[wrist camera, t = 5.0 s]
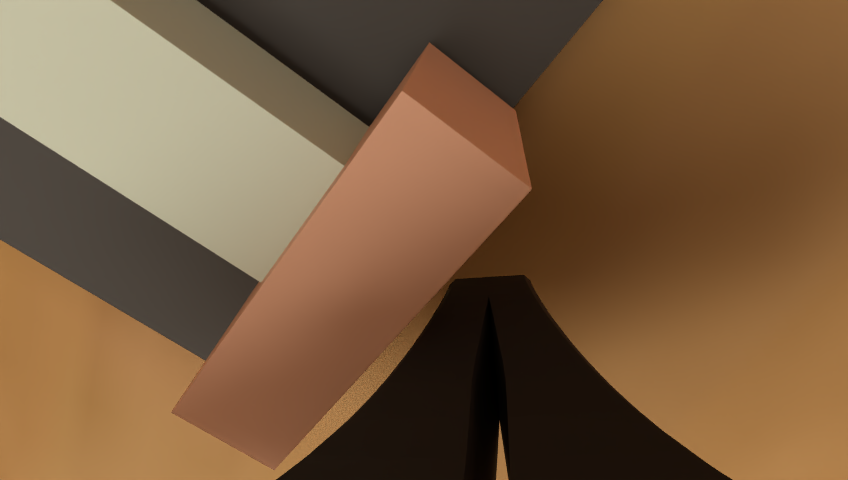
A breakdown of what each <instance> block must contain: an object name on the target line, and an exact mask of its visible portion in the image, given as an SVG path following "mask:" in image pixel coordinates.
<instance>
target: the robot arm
mask: <svg viewBox="0 0 848 480" xmlns="http://www.w3.org/2000/svg"><path fill="white" fill-rule="evenodd" d="M499 420H500V426H501V433H502V439H503V446H504V453H505V459H506V466H507V472H508V479H509V480H732V479H730V478H729V477H727V476H726V475H724V474H722V473H721V472H719V471H718V470H716V469H715V468H713V467H712V466H711V465H709V464H708V463H706V462H705V461H703V460H702V459H701V458H699V457H698V456H696V455H695V454H694V453H692V452H691V451H690V450H688V449H687V448H686V447H684V446H683V445H681V444H680V443H679V442H677V441H676V440H675V439H673V438H672V437H671V436H669V435H668V434H666V433H665V432H664V431H662V430H661V429H660V428H659V427H657V426H656V425H655V424H654V423H653V422H651V421H650V420H649V419H648V418H647V417H645V416H644V415H643V414H642V413H641V412H639V411H638V410H637V409H636V408H635V407H634V406H633V405H632V404H631V403H629V402H628V401H627V400H626V399H625V398H624V397H623V396H622V395H621V394H619V393H618V392H617V391H616V390H615V389H614V388H613V387H612V386H611V385H610V384H609V383H608V382H607V381H606V380H605V379H604V378H603V377H602V376H601V375H600V374H599V373H598V372H597V371H596V370H595V368H594V367H593V366H592V365H591V364H590V363H589V362H588V361H587V360H586V359H585V358H584V357H583V355H582V354H581V353H580V352H579V351H578V350H577V348H576V347H575V346H574V345H573V344H572V342H571V341H570V340H569V339H568V337H567V336H566V335H565V334H564V332H563V331H562V330H561V329H560V327H559V326H558V325H557V323H556V322H555V321H554V319H553V318H552V317H551V315H550V314H549V312H548V311H547V309H546V308H545V306H544V305H543V303H542V302H541V300H540V299H539V297H538V295H537V294H536V292H535V290H534V288H533V286H532V284H531V281H530V280H529V279H528V278H527V277H525V276H524V275H515V276H499V277H483V278H467V279H455V280H454V281H453V282H452V283H451V285H450V286H449V288H448V290H447V292H446V294H445V296H444V298H443V300H442V301H441V303H440V305H439V307H438V308H437V310H436V311H435V313H434V315H433V316H432V318H431V320H430V321H429V323H428V324H427V326H426V327H425V329H424V330H423V332H422V333H421V334H420V336H419V337H418V339H417V340H416V342H415V343H414V345H413V346H412V347H411V349H410V350H409V351H408V353H407V354H406V355H405V357H404V358H403V359H402V360H401V362H400V363H399V364H398V365H397V367H396V368H395V369H394V371H393V372H392V373H391V374H390V376H389V377H388V378H387V379H386V380H385V382H384V383H383V384H382V385H381V386H380V387H379V388H378V390H377V391H376V392H375V393H374V394H373V395H372V396H371V397H370V398H369V399H368V400H367V401H366V403H365V404H364V405H363V406H362V407H361V408H360V409H359V410H358V411H357V412H356V413H355V414H354V415H353V416H352V417H351V418H350V419H349V420H348V421H347V422H345V423H344V424H343V425H342V426H341V427H340V428H339V429H338V430H337V431H336V432H334V433H333V434H332V435H331V436H330V437H329V438H327V439H326V440H325V441H324V442H323V443H322V444H321V445H319V446H318V447H317V448H316V449H315V450H314V451H312V452H311V453H310V454H309V455H308V456H307V457H305V458H304V459H303V460H302V461H300V462H299V463H298V464H296V465H295V466H294V467H292V468H291V469H290V470H288V471H287V472H286V473H284V474H283V475H282V476H280V477H279V478H278V479H276V480H496V470H497V454H498V437H499Z"/></svg>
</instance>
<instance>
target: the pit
mask: <svg viewBox="0 0 848 480" xmlns="http://www.w3.org/2000/svg"><path fill="white" fill-rule="evenodd" d="M197 1H198V2H199V3H201V4H202V5H204V6H205V7H206V8H208V9H209V10H210V11H212V12H213V13H214V14H216V15H217V16H219V17H220V18H221V19H223V20H224V21H225V22H227V23H228V24H229V25H231V26H232V27H234V28H235V29H236V30H238V31H239V32H240V33H242V34H243V35H244V36H246V37H247V38H249V39H250V40H251V41H253V42H254V43H255V44H257V45H258V46H259V47H261V48H262V49H264V50H265V51H266V52H268V53H269V54H270V55H272V56H273V57H274V58H276V59H277V60H279V61H280V62H281V63H283V64H284V65H285V66H287V67H288V68H289V69H291V70H292V71H294V72H295V73H296V74H298V75H299V76H300V77H302V78H303V79H304V80H306V81H307V82H309V83H310V84H311V85H313V86H314V87H315V88H317V89H318V90H319V91H321V92H322V93H324V94H325V95H326V96H328V97H329V98H330V99H332V100H333V101H334V102H336V103H337V104H339V105H340V106H341V107H343V108H344V109H345V110H347V111H348V112H349V113H351V114H352V115H354V116H355V117H356V118H358V119H359V120H360V121H362V122H363V123H364V124H366V125H367V126H369V127H370V125H371V124H372V122H373V121H374V119H375V118H376V117H377V115H378V114H379V112H380V111H381V110H382V108H383V107H384V105H385V104H386V103H387V101H388V100H389V98H390V97H391V96H392V94H393V93H394V91H395V90H396V89H397V87H398V86H399V84H400V83H401V82H402V80H403V79H404V77H405V76H406V75H407V73H408V72H409V70H410V69H411V68H412V66H413V65H414V63H415V62H416V60H417V59H418V58H419V56H420V55H421V53H422V52H423V51H424V49H425V48H426V46H427V45H428V44H429V42H430V43H431V44H432V45H433V46H435V47H436V48H437V49H438V50H440V51H441V52H442V53H443V54H445V55H446V56H447V57H449V58H450V59H451V60H452V61H454V62H455V63H456V64H457V65H459V66H460V67H461V68H462V69H464V70H465V71H466V72H467V73H469V74H470V75H471V76H473V77H474V78H475V79H476V80H478V81H479V82H480V83H481V84H483V85H484V86H485V87H486V88H488V89H489V90H490V91H492V92H493V93H494V94H495V95H497V96H498V97H499V98H500V99H502V100H503V101H504V102H505V103H507V104H508V105H509V106H510V107H512V108H514V107H515V105H516V104H517V103H518V102H519V100H520V99H521V98H522V97H523V96H524V94H525V93H526V92H527V91H528V90H529V88H530V87H531V86H532V85H533V84H534V82H535V81H536V80H537V79H538V78H539V76H540V75H541V74H542V73H543V72H544V70H545V69H546V68H547V67H548V66H549V64H550V63H551V62H552V61H553V60H554V58H555V57H556V56H557V55H558V54H559V52H560V51H561V50H562V49H563V48H564V46H565V45H566V44H567V43H568V42H569V40H570V39H571V38H572V37H573V36H574V34H575V33H576V32H577V31H578V30H579V28H580V27H581V26H582V25H583V24H584V22H585V21H586V20H587V19H588V18H589V16H590V15H591V14H592V13H593V12H594V10H595V9H596V8H597V7H598V6H599V4H600V3H601V2H602V1H603V0H197ZM0 240H2V241H4V242H5V243H7V244H9V245H10V246H12V247H14V248H16V249H17V250H19V251H21V252H22V253H24V254H26V255H27V256H29V257H31V258H32V259H34V260H36V261H38V262H39V263H41V264H43V265H44V266H46V267H48V268H49V269H51V270H53V271H55V272H56V273H58V274H60V275H61V276H63V277H65V278H66V279H68V280H70V281H71V282H73V283H75V284H77V285H78V286H80V287H82V288H83V289H85V290H87V291H88V292H90V293H92V294H94V295H95V296H97V297H99V298H100V299H102V300H104V301H105V302H107V303H109V304H111V305H112V306H114V307H116V308H117V309H119V310H121V311H122V312H124V313H126V314H127V315H129V316H131V317H133V318H134V319H136V320H138V321H139V322H141V323H143V324H144V325H146V326H148V327H150V328H151V329H153V330H155V331H156V332H158V333H160V334H161V335H163V336H165V337H166V338H168V339H170V340H172V341H173V342H175V343H177V344H178V345H180V346H182V347H183V348H185V349H187V350H189V351H190V352H192V353H194V354H195V355H197V356H199V357H200V358H202V359H204V360H207V358H208V357H209V355H210V354H211V352H212V351H213V349H214V348H215V346H216V345H217V343H218V342H219V340H220V339H221V337H222V336H223V334H224V333H225V331H226V330H227V328H228V327H229V325H230V324H231V322H232V321H233V319H234V318H235V316H236V315H237V313H238V312H239V310H240V309H241V307H242V306H243V304H244V303H245V301H246V300H247V298H248V297H249V295H250V294H251V293H252V291H253V290H254V288H255V287H256V285H257V284H258V282H259V281H258V280H256V279H254V278H253V277H251V276H250V275H248V274H247V273H245V272H243V271H242V270H240V269H239V268H237V267H236V266H234V265H232V264H231V263H229V262H228V261H226V260H225V259H223V258H221V257H220V256H218V255H217V254H215V253H214V252H212V251H210V250H209V249H207V248H206V247H204V246H203V245H201V244H199V243H198V242H196V241H195V240H193V239H192V238H190V237H188V236H187V235H185V234H184V233H182V232H181V231H179V230H177V229H176V228H174V227H173V226H171V225H170V224H168V223H166V222H165V221H163V220H162V219H160V218H158V217H157V216H155V215H154V214H152V213H151V212H149V211H147V210H146V209H144V208H143V207H141V206H140V205H138V204H136V203H135V202H133V201H132V200H130V199H129V198H127V197H125V196H124V195H122V194H121V193H119V192H118V191H116V190H114V189H113V188H111V187H110V186H108V185H107V184H105V183H103V182H102V181H100V180H99V179H97V178H96V177H94V176H92V175H91V174H89V173H88V172H86V171H85V170H83V169H81V168H80V167H78V166H77V165H75V164H74V163H72V162H70V161H69V160H67V159H66V158H64V157H63V156H61V155H59V154H58V153H56V152H55V151H53V150H51V149H50V148H48V147H47V146H45V145H44V144H42V143H40V142H39V141H37V140H36V139H34V138H33V137H31V136H29V135H28V134H26V133H25V132H23V131H22V130H20V129H18V128H17V127H15V126H14V125H12V124H11V123H9V122H7V121H6V120H4V119H3V118H1V117H0Z"/></svg>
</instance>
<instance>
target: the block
mask: <svg viewBox="0 0 848 480" xmlns="http://www.w3.org/2000/svg"><path fill="white" fill-rule="evenodd" d="M0 117H1V118H3V119H4V120H6V121H7V122H9V123H11V124H12V125H14V126H15V127H17V128H18V129H20V130H22V131H23V132H25V133H26V134H28V135H29V136H31V137H33V138H34V139H36V140H37V141H39V142H40V143H42V144H44V145H45V146H47V147H48V148H50V149H51V150H53V151H55V152H56V153H58V154H59V155H61V156H63V157H64V158H66V159H67V160H69V161H70V162H72V163H74V164H75V165H77V166H78V167H80V168H81V169H83V170H85V171H86V172H88V173H89V174H91V175H92V176H94V177H96V178H97V179H99V180H100V181H102V182H103V183H105V184H107V185H108V186H110V187H111V188H113V189H114V190H116V191H118V192H119V193H121V194H122V195H124V196H125V197H127V198H129V199H130V200H132V201H133V202H135V203H136V204H138V205H140V206H141V207H143V208H144V209H146V210H147V211H149V212H151V213H152V214H154V215H155V216H157V217H158V218H160V219H162V220H163V221H165V222H166V223H168V224H170V225H171V226H173V227H174V228H176V229H177V230H179V231H181V232H182V233H184V234H185V235H187V236H188V237H190V238H192V239H193V240H195V241H196V242H198V243H199V244H201V245H203V246H204V247H206V248H207V249H209V250H210V251H212V252H214V253H215V254H217V255H218V256H220V257H221V258H223V259H225V260H226V261H228V262H229V263H231V264H232V265H234V266H236V267H237V268H239V269H240V270H242V271H243V272H245V273H247V274H248V275H250V276H251V277H253V278H254V279H256V280H258V281H259V282H258V284H257V285H256V287H255V288H254V290H253V291H252V293H251V294H250V295H249V297H248V298H247V300H246V301H245V303H244V304H243V306H242V307H241V309H240V310H239V312H238V313H237V315H236V316H235V318H234V319H233V321H232V322H231V324H230V325H229V327H228V328H227V330H226V331H225V333H224V334H223V336H222V337H221V339H220V340H219V342H218V343H217V345H216V346H215V348H214V349H213V351H212V352H211V354H210V355H209V357H208V358H207V360H206V361H205V363H204V364H203V366H202V367H201V369H200V370H199V371H198V373H197V374H196V376H195V377H194V379H193V380H192V382H191V383H190V385H189V386H188V388H187V389H186V391H185V392H184V394H183V395H182V397H181V398H180V400H179V401H178V403H177V404H176V406H175V407H174V409H173V410H172V412H171V413H173V414H175V415H177V416H179V417H180V418H182V419H184V420H186V421H187V422H189V423H191V424H193V425H195V426H196V427H198V428H200V429H202V430H204V431H205V432H207V433H209V434H211V435H212V436H214V437H216V438H218V439H220V440H221V441H223V442H225V443H227V444H228V445H230V446H232V447H234V448H236V449H237V450H239V451H241V452H243V453H245V454H246V455H248V456H250V457H252V458H253V459H255V460H257V461H259V462H261V463H262V464H264V465H266V466H268V467H270V468H271V469H273V470H275V469H276V468H277V467H278V465H279V464H280V463H281V462H282V461H283V460H284V459H285V458H286V457H287V456H288V455H289V453H290V452H291V451H292V450H293V449H294V448H295V447H296V446H297V445H298V444H299V443H300V441H301V440H302V439H303V438H304V437H305V436H306V435H307V434H308V433H309V432H310V431H311V429H312V428H313V427H314V426H315V425H316V424H317V423H318V422H319V421H320V420H321V419H322V417H323V416H324V415H325V414H326V413H327V412H328V411H329V410H330V409H331V408H332V407H333V405H334V404H335V403H336V402H337V401H338V400H339V399H340V398H341V397H342V396H343V395H344V393H345V392H346V391H347V390H348V389H349V388H350V387H351V386H352V385H353V384H354V383H355V381H356V380H357V379H358V378H359V377H360V376H361V375H362V374H363V373H364V372H365V371H366V369H367V368H368V367H369V366H370V365H371V364H372V363H373V362H374V361H375V360H376V359H377V357H378V356H379V355H380V354H381V353H382V352H383V351H384V350H385V349H386V348H387V347H388V345H389V344H390V343H391V342H392V341H393V340H394V339H395V338H396V337H397V336H398V335H399V333H400V332H401V331H402V330H403V329H404V328H405V327H406V326H407V325H408V324H409V323H410V321H411V320H412V319H413V318H414V317H415V316H416V315H417V314H418V313H419V312H420V311H421V309H422V308H423V307H424V306H425V305H426V304H427V303H428V302H429V301H430V300H431V299H432V297H433V296H434V295H435V294H436V293H437V292H438V291H439V290H440V289H441V288H442V287H443V285H444V284H445V283H446V282H447V281H448V280H449V279H450V278H451V277H452V276H453V275H454V273H455V272H456V271H457V270H458V269H459V268H460V267H461V266H462V265H463V264H464V263H465V261H466V260H467V259H468V258H469V257H470V256H471V255H472V254H473V253H474V252H475V251H476V249H477V248H478V247H479V246H480V245H481V244H482V243H483V242H484V241H485V240H486V239H487V237H488V236H489V235H490V234H491V233H492V232H493V231H494V230H495V229H496V228H497V227H498V225H499V224H500V223H501V222H502V221H503V220H504V219H505V218H506V217H507V216H508V215H509V213H510V212H511V211H512V210H513V209H514V208H515V207H516V206H517V205H518V204H519V203H520V201H521V200H522V199H523V198H524V197H525V196H526V195H527V194H528V193H529V192H530V191H531V190H532V187H531V182H530V178H529V173H528V168H527V163H526V158H525V153H524V148H523V143H522V139H521V134H520V129H519V124H518V119H517V114H516V110H514V109H513V108H512V107H510V106H509V105H508V104H507V103H505V102H504V101H503V100H502V99H500V98H499V97H498V96H497V95H495V94H494V93H493V92H492V91H490V90H489V89H488V88H486V87H485V86H484V85H483V84H481V83H480V82H479V81H478V80H476V79H475V78H474V77H473V76H471V75H470V74H469V73H467V72H466V71H465V70H464V69H462V68H461V67H460V66H459V65H457V64H456V63H455V62H454V61H452V60H451V59H450V58H449V57H447V56H446V55H445V54H443V53H442V52H441V51H440V50H438V49H437V48H436V47H435V46H433V45H432V44H431V43H430V42H429V44H428V45H427V46H426V48H425V49H424V51H423V52H422V53H421V55H420V56H419V58H418V59H417V60H416V62H415V63H414V65H413V66H412V68H411V69H410V70H409V72H408V73H407V75H406V76H405V77H404V79H403V80H402V82H401V83H400V84H399V86H398V87H397V89H396V90H395V91H394V93H393V94H392V96H391V97H390V98H389V100H388V101H387V103H386V104H385V105H384V107H383V108H382V110H381V111H380V112H379V114H378V115H377V117H376V118H375V119H374V121H373V122H372V124H371V125H370V127H369V126H367V125H366V124H364V123H363V122H362V121H360V120H359V119H358V118H356V117H355V116H354V115H352V114H351V113H349V112H348V111H347V110H345V109H344V108H343V107H341V106H340V105H339V104H337V103H336V102H334V101H333V100H332V99H330V98H329V97H328V96H326V95H325V94H324V93H322V92H321V91H319V90H318V89H317V88H315V87H314V86H313V85H311V84H310V83H309V82H307V81H306V80H304V79H303V78H302V77H300V76H299V75H298V74H296V73H295V72H294V71H292V70H291V69H289V68H288V67H287V66H285V65H284V64H283V63H281V62H280V61H279V60H277V59H276V58H274V57H273V56H272V55H270V54H269V53H268V52H266V51H265V50H264V49H262V48H261V47H259V46H258V45H257V44H255V43H254V42H253V41H251V40H250V39H249V38H247V37H246V36H244V35H243V34H242V33H240V32H239V31H238V30H236V29H235V28H234V27H232V26H231V25H229V24H228V23H227V22H225V21H224V20H223V19H221V18H220V17H219V16H217V15H216V14H214V13H213V12H212V11H210V10H209V9H208V8H206V7H205V6H204V5H202V4H201V3H199V2H198V1H197V0H0Z"/></svg>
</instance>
